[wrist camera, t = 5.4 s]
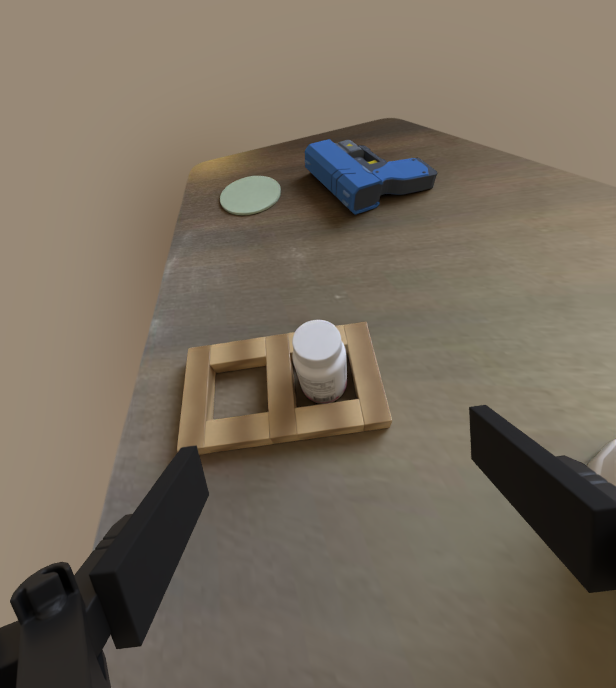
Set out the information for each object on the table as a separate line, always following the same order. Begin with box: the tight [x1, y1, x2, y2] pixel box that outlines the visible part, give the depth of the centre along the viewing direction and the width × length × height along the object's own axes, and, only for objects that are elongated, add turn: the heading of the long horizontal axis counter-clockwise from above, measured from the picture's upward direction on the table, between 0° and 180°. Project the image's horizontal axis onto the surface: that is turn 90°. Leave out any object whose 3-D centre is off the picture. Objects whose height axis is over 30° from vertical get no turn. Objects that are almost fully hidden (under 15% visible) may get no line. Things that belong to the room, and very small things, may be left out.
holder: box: [177, 322, 392, 454], centre depth 32 cm, size 20×11×2 cm, turn 96°
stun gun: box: [305, 139, 437, 215], centre depth 49 cm, size 4×16×15 cm
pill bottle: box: [292, 320, 347, 404], centre depth 29 cm, size 5×5×8 cm
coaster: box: [220, 176, 281, 215], centre depth 51 cm, size 10×10×1 cm
